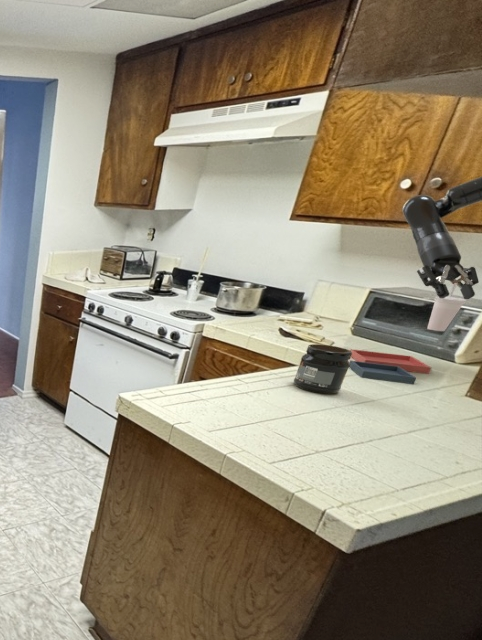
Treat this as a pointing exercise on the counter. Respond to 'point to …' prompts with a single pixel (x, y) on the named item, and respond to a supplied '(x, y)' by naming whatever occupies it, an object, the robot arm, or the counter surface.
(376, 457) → the counter surface
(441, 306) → the smoothie
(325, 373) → the supplement container
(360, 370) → the slate tray
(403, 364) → the rose tray
